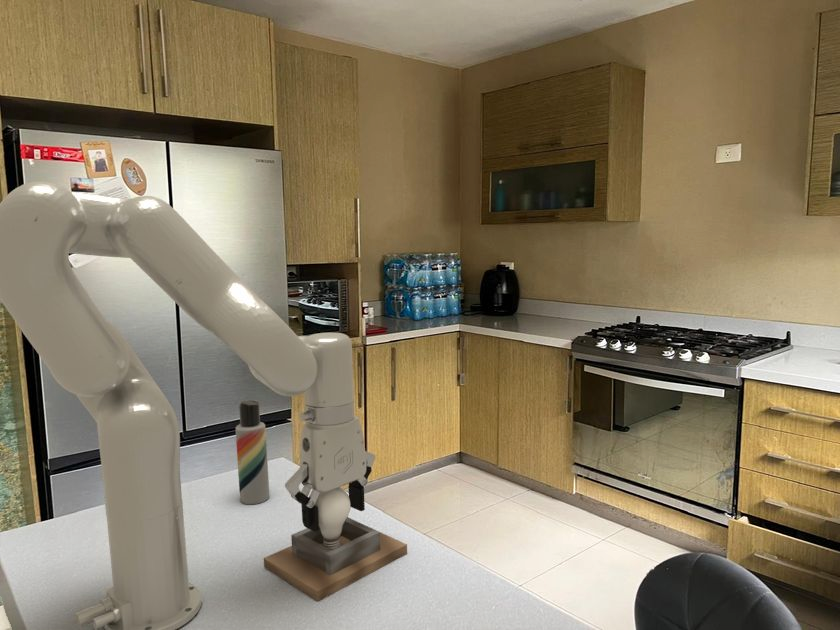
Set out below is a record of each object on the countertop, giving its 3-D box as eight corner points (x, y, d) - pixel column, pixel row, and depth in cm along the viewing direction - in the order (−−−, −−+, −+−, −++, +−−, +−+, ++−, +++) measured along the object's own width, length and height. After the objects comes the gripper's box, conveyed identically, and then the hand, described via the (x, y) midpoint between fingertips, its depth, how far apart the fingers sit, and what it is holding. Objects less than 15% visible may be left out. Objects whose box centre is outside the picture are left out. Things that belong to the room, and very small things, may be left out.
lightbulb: (356, 543, 102) (353, 479, 101) (347, 563, 96) (345, 495, 94) (318, 542, 103) (315, 478, 101) (307, 562, 96) (304, 495, 95)
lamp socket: (317, 601, 89) (316, 571, 88) (264, 567, 98) (262, 540, 98) (407, 553, 102) (406, 527, 101) (351, 526, 111) (350, 502, 111)
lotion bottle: (239, 495, 126) (233, 399, 124) (268, 491, 128) (262, 396, 125) (240, 506, 121) (234, 406, 118) (270, 502, 122) (264, 403, 120)
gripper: (297, 430, 88) (303, 546, 90) (387, 404, 100) (390, 507, 103) (268, 420, 93) (274, 530, 96) (357, 397, 106) (360, 494, 108)
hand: (334, 517), depth 99 cm, fingers open, 8 cm apart
